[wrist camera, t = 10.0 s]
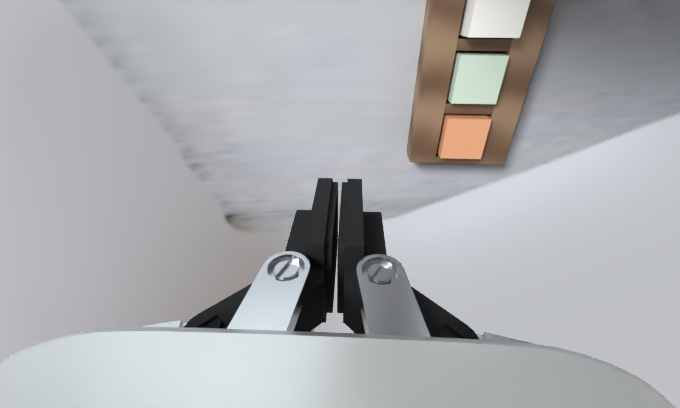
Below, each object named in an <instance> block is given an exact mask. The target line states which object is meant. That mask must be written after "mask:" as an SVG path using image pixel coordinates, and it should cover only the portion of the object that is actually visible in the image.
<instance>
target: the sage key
mask: <svg viewBox="0 0 680 408" xmlns="http://www.w3.org/2000/svg"><path fill="white" fill-rule="evenodd" d="M508 59H509V55H506V54H503V53H500V52H485V51H456V52H455V57H454V63H453V68H452V73H451V78H450V84H449V89H448V94H447V100H448V101H449V102H450V103H451V104H496V102H497V99H498V95H499V91H500V88H501V84H502V81H503V77H504V73H505V70H506V66H507V62H508Z"/></svg>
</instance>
